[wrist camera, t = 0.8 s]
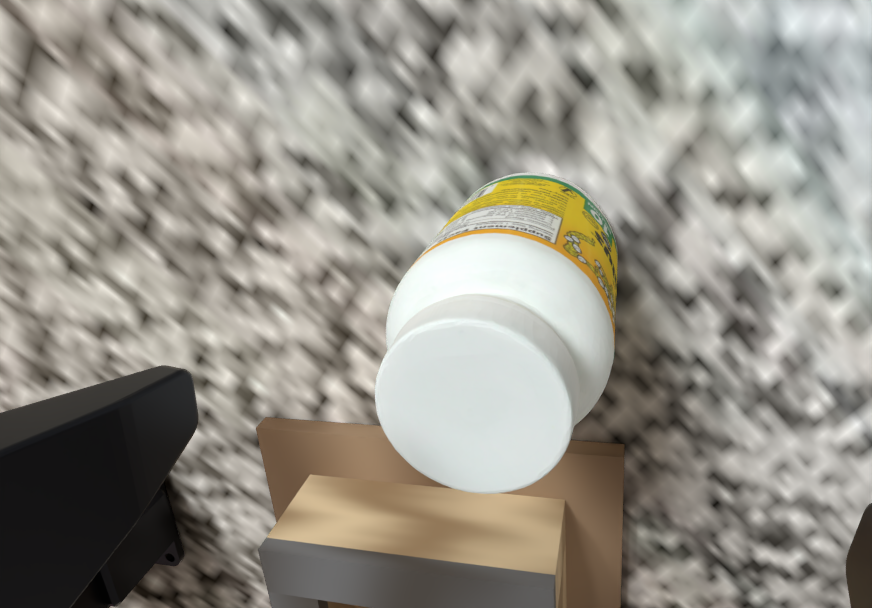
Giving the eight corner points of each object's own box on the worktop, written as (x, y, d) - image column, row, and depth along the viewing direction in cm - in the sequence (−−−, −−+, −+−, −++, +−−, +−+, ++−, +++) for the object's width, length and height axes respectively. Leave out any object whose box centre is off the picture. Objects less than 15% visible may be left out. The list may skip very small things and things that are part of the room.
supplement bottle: (452, 164, 21) (331, 267, 12) (628, 174, 20) (627, 296, 11) (450, 320, 23) (347, 498, 15) (609, 337, 22) (597, 543, 13)
